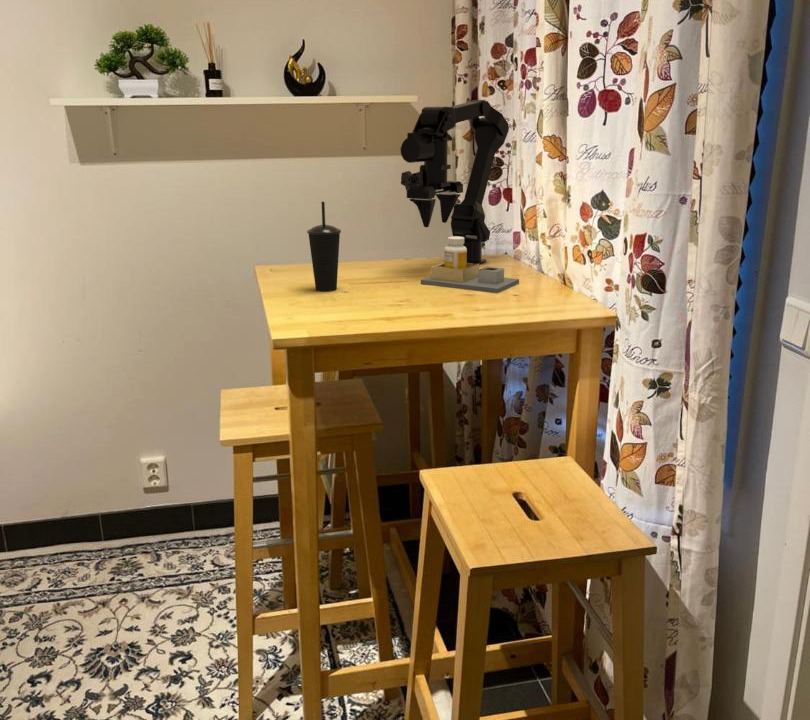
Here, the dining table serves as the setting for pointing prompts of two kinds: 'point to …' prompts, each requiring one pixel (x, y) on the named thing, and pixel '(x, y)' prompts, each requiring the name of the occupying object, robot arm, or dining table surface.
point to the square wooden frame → (454, 273)
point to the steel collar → (491, 275)
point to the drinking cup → (324, 254)
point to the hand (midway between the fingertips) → (435, 224)
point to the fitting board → (473, 284)
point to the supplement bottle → (455, 253)
